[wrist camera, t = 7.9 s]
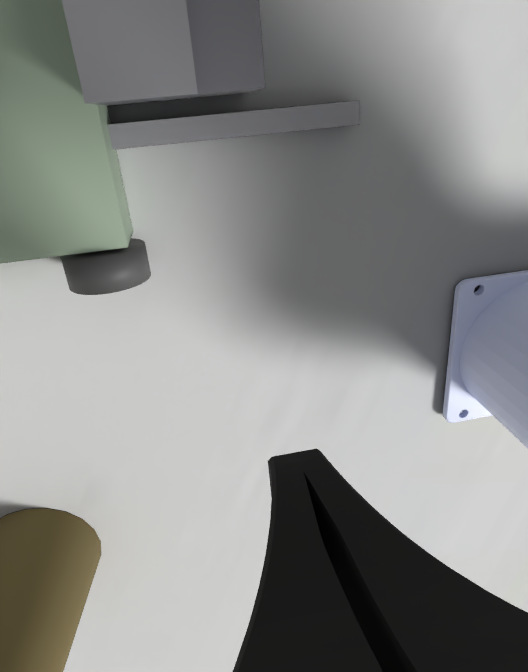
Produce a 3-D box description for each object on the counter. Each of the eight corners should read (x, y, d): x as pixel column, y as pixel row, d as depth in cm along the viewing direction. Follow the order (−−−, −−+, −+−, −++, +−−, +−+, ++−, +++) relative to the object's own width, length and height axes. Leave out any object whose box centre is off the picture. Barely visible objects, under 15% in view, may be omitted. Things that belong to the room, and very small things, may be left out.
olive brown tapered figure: (-20, 503, 23) (-163, 795, 13) (109, 512, 25) (67, 778, 15) (-25, 589, 25) (-151, 893, 15) (93, 592, 27) (48, 869, 17)
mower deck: (349, -364, 13) (465, -675, 8) (350, 237, 20) (411, 279, 15) (-477, -385, 11) (-1081, -847, 6) (-138, 301, 18) (-261, 376, 13)
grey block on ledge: (230, -83, 15) (252, -157, 11) (246, 93, 17) (269, 87, 13) (69, -75, 15) (27, -151, 10) (106, 105, 17) (85, 103, 13)
